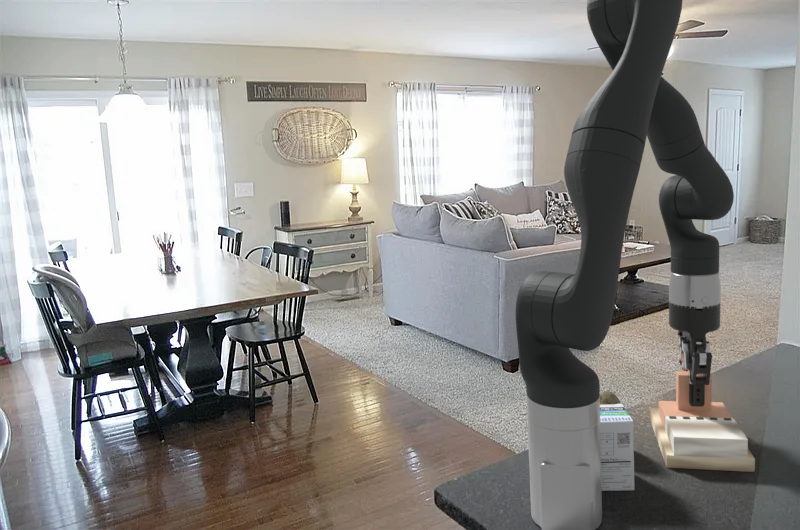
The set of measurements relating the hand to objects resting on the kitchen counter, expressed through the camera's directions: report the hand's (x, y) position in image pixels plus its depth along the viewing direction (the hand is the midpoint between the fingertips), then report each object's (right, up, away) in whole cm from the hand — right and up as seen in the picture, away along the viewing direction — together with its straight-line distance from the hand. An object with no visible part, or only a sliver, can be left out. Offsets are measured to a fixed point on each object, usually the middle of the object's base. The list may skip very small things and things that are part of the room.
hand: (693, 399), depth 103 cm
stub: (0, -4, 0) cm, 4 cm away
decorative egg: (-15, -8, -2) cm, 17 cm away
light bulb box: (-20, -10, -11) cm, 25 cm away
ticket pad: (0, -7, -2) cm, 7 cm away
